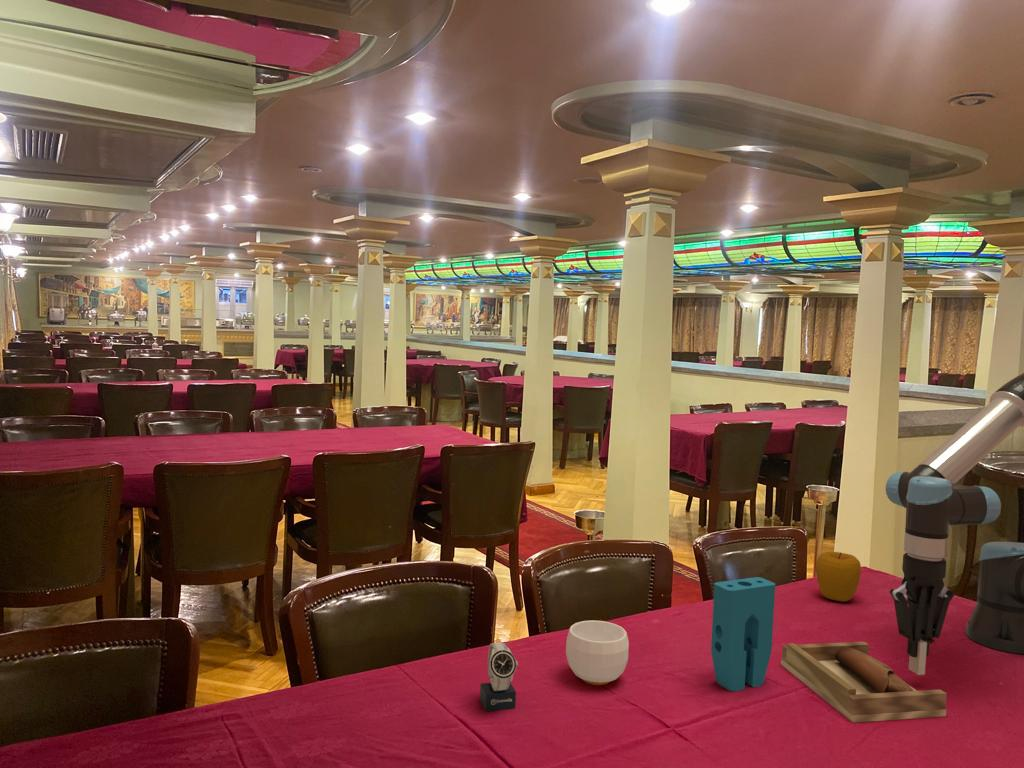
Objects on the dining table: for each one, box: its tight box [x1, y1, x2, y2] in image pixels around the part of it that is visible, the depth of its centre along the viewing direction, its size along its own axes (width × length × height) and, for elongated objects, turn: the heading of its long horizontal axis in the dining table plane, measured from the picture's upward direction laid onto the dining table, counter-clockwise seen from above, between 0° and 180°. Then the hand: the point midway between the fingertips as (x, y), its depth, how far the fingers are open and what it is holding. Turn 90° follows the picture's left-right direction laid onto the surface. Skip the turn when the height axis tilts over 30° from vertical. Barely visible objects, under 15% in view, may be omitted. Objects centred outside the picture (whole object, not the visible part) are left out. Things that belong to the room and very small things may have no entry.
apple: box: [815, 551, 862, 602], centre depth 199 cm, size 11×11×13 cm
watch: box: [479, 642, 519, 712], centre depth 136 cm, size 6×8×11 cm
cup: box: [565, 619, 630, 686], centre depth 148 cm, size 12×12×10 cm
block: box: [710, 576, 776, 692], centre depth 148 cm, size 12×5×20 cm, turn 115°
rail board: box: [780, 641, 948, 723], centre depth 147 cm, size 19×24×5 cm
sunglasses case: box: [835, 647, 914, 693], centre depth 148 cm, size 18×7×7 cm
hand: (916, 671), depth 150 cm, fingers closed
